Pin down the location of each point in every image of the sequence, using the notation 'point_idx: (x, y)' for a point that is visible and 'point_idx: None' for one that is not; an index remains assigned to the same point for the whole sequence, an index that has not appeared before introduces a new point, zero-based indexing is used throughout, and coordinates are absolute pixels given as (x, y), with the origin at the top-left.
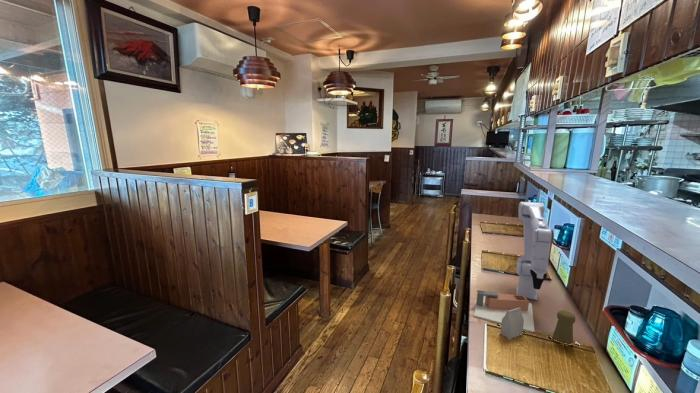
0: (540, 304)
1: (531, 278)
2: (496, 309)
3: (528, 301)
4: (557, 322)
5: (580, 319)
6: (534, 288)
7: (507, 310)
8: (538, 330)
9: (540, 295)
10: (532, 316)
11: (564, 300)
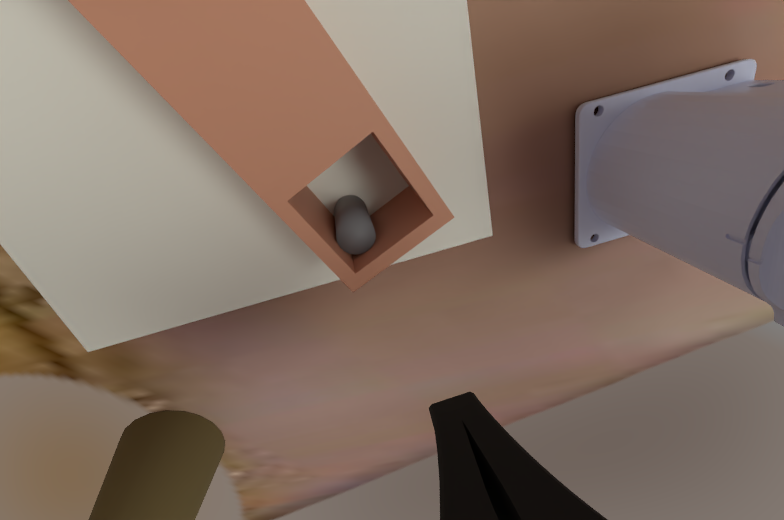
0: (529, 273)
1: (780, 270)
2: None
3: (350, 288)
4: None
5: None
6: (431, 412)
7: None
8: (157, 350)
9: None
10: (292, 290)
11: (653, 349)
